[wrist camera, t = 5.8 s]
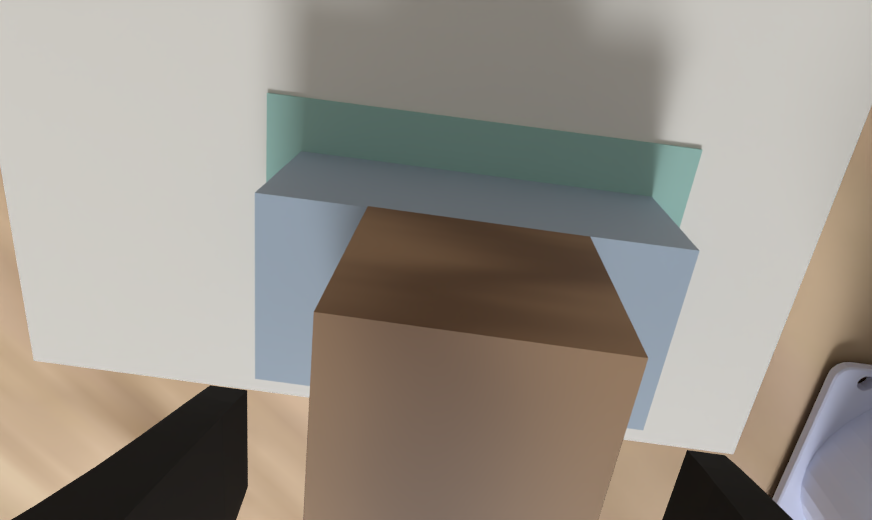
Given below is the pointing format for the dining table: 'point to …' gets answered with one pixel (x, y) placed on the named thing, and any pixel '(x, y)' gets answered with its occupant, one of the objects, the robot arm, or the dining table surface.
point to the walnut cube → (467, 374)
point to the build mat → (417, 155)
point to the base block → (458, 198)
